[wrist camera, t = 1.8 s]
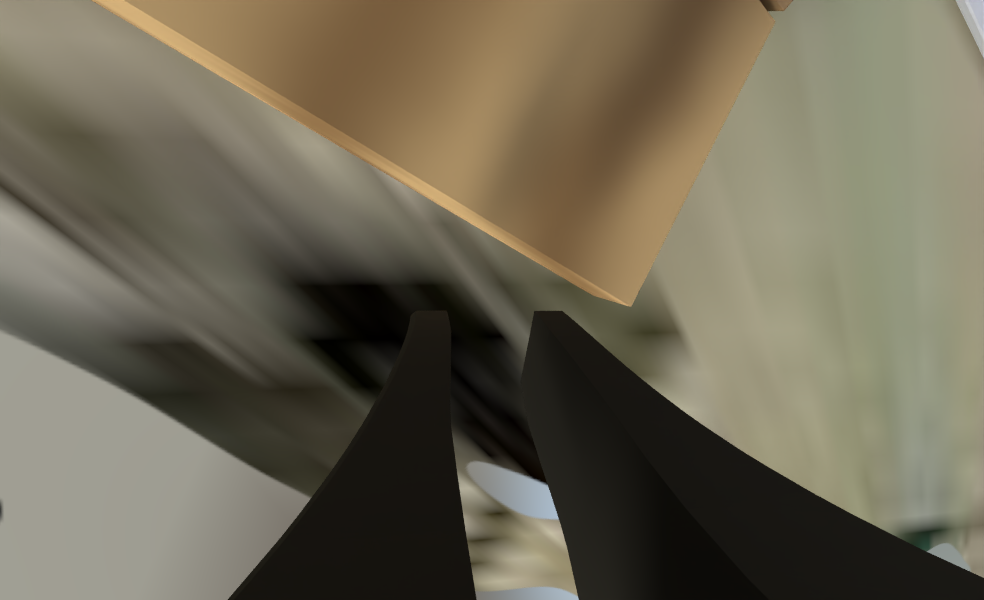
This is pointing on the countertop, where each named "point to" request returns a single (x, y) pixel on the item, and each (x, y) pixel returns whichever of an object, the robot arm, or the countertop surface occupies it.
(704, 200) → the countertop surface
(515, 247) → the oak plank
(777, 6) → the walnut plank
